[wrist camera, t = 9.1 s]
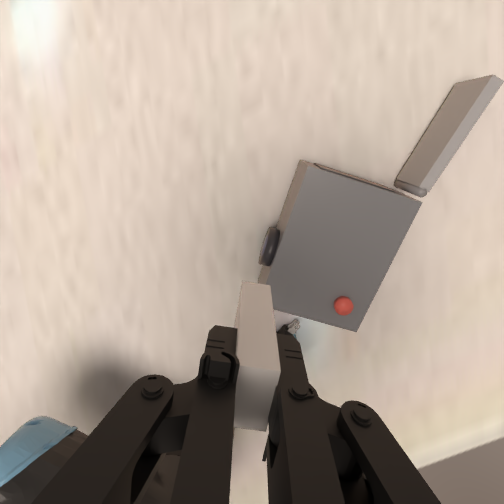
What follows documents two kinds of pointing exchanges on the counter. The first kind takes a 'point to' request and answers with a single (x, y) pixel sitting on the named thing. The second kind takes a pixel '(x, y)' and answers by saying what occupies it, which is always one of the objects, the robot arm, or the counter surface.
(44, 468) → the robot arm
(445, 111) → the door
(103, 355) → the counter surface
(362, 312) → the housing
